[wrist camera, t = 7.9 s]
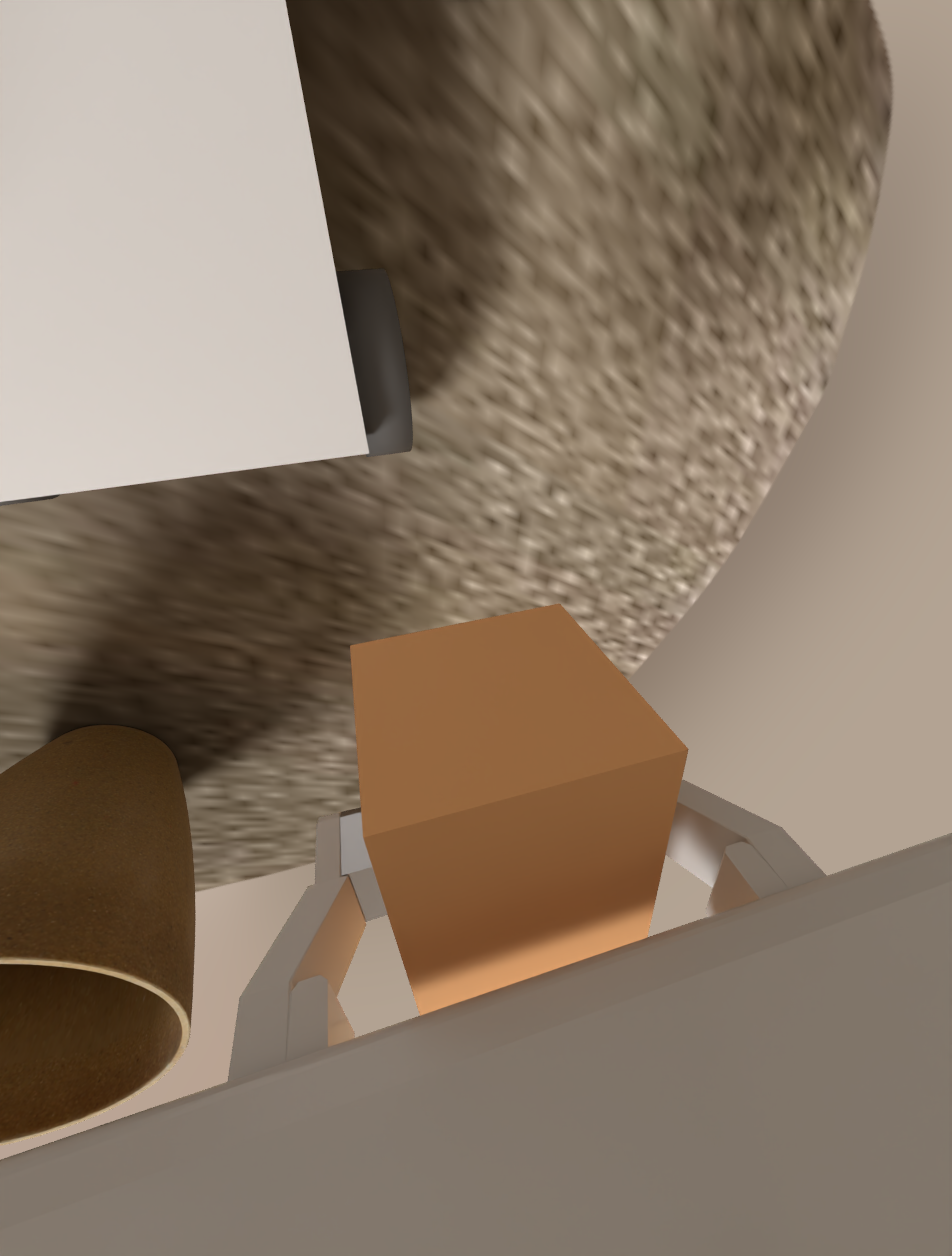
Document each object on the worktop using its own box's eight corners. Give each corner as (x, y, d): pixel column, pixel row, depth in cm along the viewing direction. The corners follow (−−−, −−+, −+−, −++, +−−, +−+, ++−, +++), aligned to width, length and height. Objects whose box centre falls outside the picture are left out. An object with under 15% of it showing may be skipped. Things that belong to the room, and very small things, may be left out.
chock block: (349, 645, 11) (362, 838, 7) (559, 603, 12) (688, 749, 7) (405, 859, 15) (434, 1059, 11) (555, 816, 16) (636, 985, 12)
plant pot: (11, 856, 33) (-202, 1204, 20) (-72, 677, 26) (-492, 1031, 13) (249, 830, 37) (206, 1100, 24) (233, 672, 30) (160, 929, 17)
